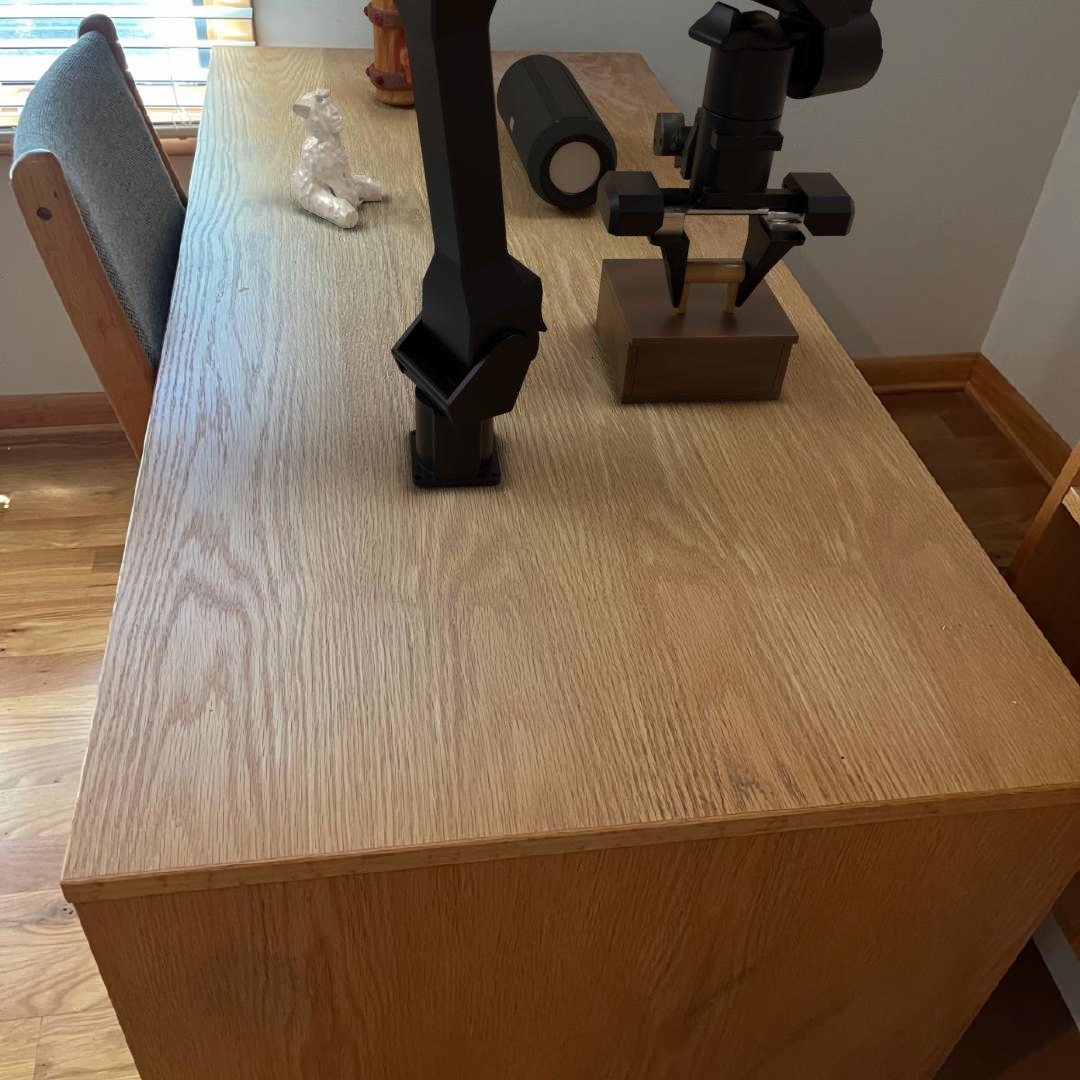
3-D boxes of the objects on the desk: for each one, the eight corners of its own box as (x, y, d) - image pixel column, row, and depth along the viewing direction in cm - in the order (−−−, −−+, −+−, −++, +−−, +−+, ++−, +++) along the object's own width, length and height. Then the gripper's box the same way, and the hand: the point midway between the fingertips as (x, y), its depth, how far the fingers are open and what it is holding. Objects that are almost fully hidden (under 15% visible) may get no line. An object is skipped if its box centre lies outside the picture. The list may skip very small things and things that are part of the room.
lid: (797, 344, 82) (812, 284, 78) (631, 346, 80) (639, 286, 77) (750, 266, 92) (762, 210, 88) (601, 266, 90) (607, 210, 86)
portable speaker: (492, 132, 128) (494, 47, 122) (569, 131, 130) (575, 47, 124) (529, 220, 110) (534, 125, 103) (618, 217, 112) (628, 124, 105)
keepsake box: (778, 399, 86) (794, 339, 82) (621, 403, 84) (629, 341, 81) (738, 323, 96) (750, 266, 92) (595, 325, 94) (601, 267, 90)
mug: (360, 91, 137) (353, -35, 127) (417, 86, 140) (415, -38, 130) (396, 130, 127) (391, -3, 117) (457, 123, 130) (458, -7, 120)
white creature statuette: (351, 232, 105) (344, 112, 97) (274, 218, 106) (260, 99, 99) (386, 197, 112) (382, 83, 104) (314, 184, 113) (304, 70, 105)
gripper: (829, 72, 80) (785, 258, 90) (594, 67, 77) (577, 259, 88) (882, 124, 72) (828, 322, 82) (621, 121, 69) (599, 325, 79)
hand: (705, 304), depth 83 cm, fingers closed on lid, 5 cm apart
